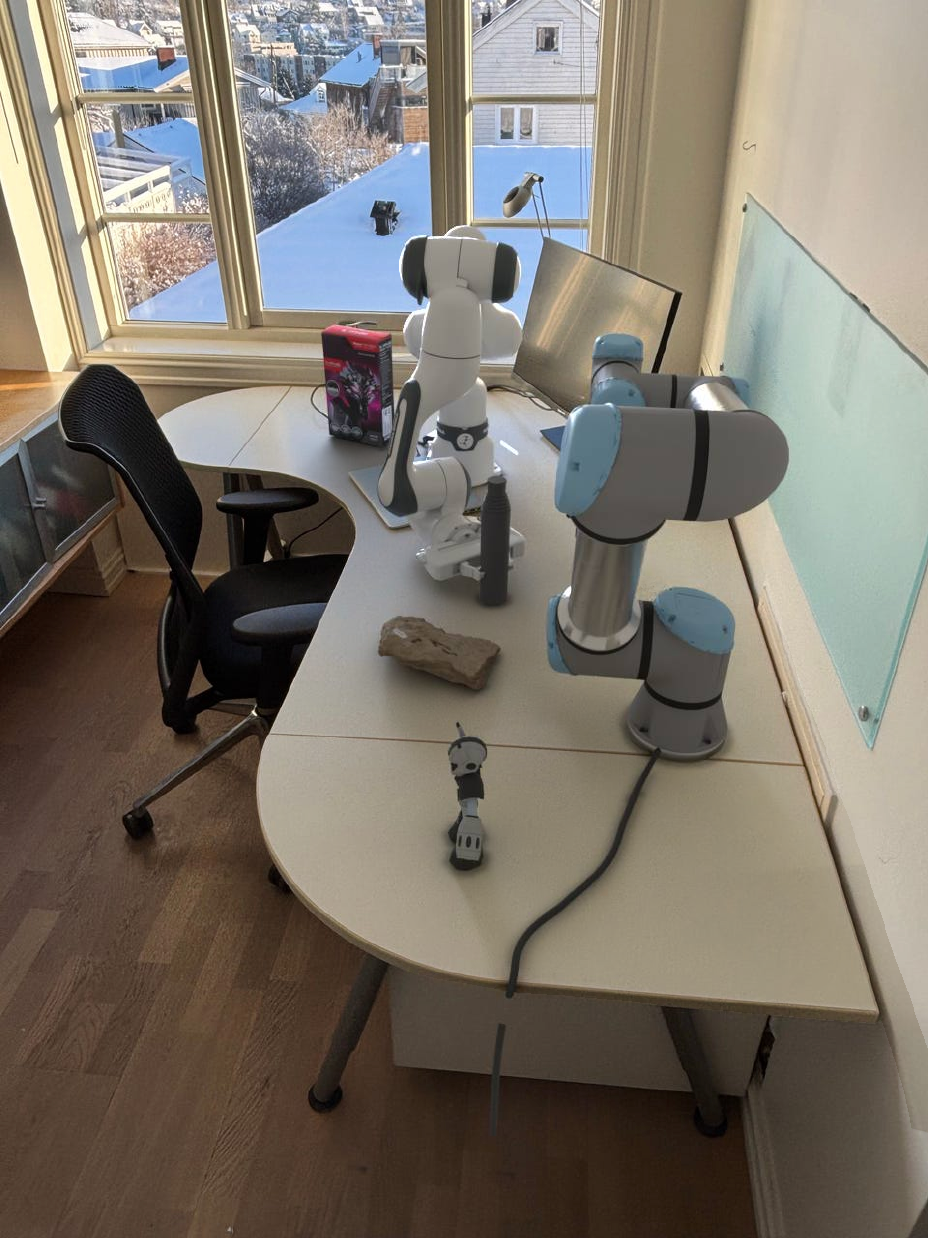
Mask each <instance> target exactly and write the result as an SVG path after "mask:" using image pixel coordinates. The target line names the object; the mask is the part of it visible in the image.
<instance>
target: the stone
mask: <svg viewBox="0 0 928 1238" xmlns="http://www.w3.org/2000/svg"><path fill="white" fill-rule="evenodd" d="M381 626H382V627H381V630H380V639H379V645H378V648H377V653H378V656H380V657H391V658H394V659H395V660H397V662H398V663H399V664H400V665H403V666H407V667H408V666H409V667H411V668H412V669H415V670H419V671H425V672H426V673H429V674H431V675H435V676H436V677H439V678H441V679H444V680H446V681H448V682H450V683H456V684H463V685H466V686H467V687H468V688H470V689H472V690H475V691H480V690H482V689H483V688H484V686H485V685H486V682H487V681H488V678H489V677H490V676H489V675H490V674H489V672H490V670H491V668H492V666H493V664H494V662H495V660H496V658H497V656H498V653H500V651H501V650H502V648H501V647H500V646H499V645H498V644H496V643H495V642H492V641H491V640H490V639H485V638H481V637H473V636H466V635H463V634H461V633H452V632H446V631H445V629H443V628H442V627H436V626H434V624H433V623H431V622H429V621H427V620H426V619H425V618H424V617H416V616H402V615H398V616H395V617H392V618H391V619H389V620H387V621H385V622H384V623H383V625H381Z"/></svg>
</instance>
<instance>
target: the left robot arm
mask: <svg viewBox="0 0 928 1238" xmlns="http://www.w3.org/2000/svg"><path fill="white" fill-rule="evenodd" d="M399 274H400V278H401V281H402V287H404V289H405V290H406V292H407V293H408V294H409V296H411V297H412V298H414V299H416V302H417V305H418V306H420V307H422V305H423V301H424V298H426V299H427V300H428V303H427V306H426V308H425V309H420V310H416V311H413V312H412V313H411V314H410V315H408V318H407V319H406V322H405V324H404V326H403V327H404V328H403V340H404V344H405V346H406V348H407V351H408V352H409V353H410V354H411V355H412V356H413V357H414V358H416V360H418V361H417V364H416V366H415V370H414V371H413V373H412V375H411V376H410V378H409V379H408V380H407V381H406V382H405V383H404V384H403V385H402V387H401V388H400V392H399V395H398V399H397V403H396V406H395V410H394V413H395V416H394V420H393V425H392V430H391V435H390V440H389V443H388V444H387V448H386V449H387V450H386V455H385V459H384V463H383V465H382V468H381V471H380V472H379V476H378V479H377V484H376V493H377V498H378V502H379V504H380V505H381V506H382V508H383V509H385V510H386V511H387V512H388V513H390V514H392V515H393V516H395V517H398V518H404V517H405V518H406V520H407V523H408V525H409V526H410V528H412V530H413V531H414V533H415V534H416V535H417V536H418V537H419V538H421V540H422V541H424V542H425V543H427V544H428V545H430V546H428V547H426V548H422V549H419V550H418V552H417V553H416V554H415V559H416V560H417V561H418V562H419V563H420V564H421V565H422V564H423V565H424V568H425V569H426V571H427V573H428V574H429V575H430V576H431V577H432V578H433V579H434V580H436V581H445V580H449V579H451V578H454V577H458V576H461V575H462V576H464V577H469V578H474V579H475V580H476V581H477V582H478V581H480V580H481V579H484V578H485V576H484V575H485V571H484V570H483V569H482V568H481V567H480V550H481V516H470V515H463V514H464V513H465V511H466V509H467V507H468V504H469V501H470V498H471V494H472V488H473V487H478V486H481V485H484V484H487V481H488V480H487V479H488V478H489V477H491V476H501V475H502V468H501V467H500V466H499V465H498V464H497V463H496V461H495V442H494V441H493V440H492V438H491V437H489V427H490V426H489V425H490V424H489V417H488V416H487V415H488V413H487V412H488V411H487V410H488V409H487V407H488V406H487V405H488V389H487V386H486V384H485V382H484V381H483V379H481V378H480V377H479V374H480V368H481V362H482V361H483V362H484V361H485V362H486V361H488V362H490V361H497V360H503V359H507V358H512V357H513V356H515V355H516V353H517V352H518V350H519V349H520V347H521V344H522V341H523V327H522V323H521V321H520V319H519V318H518V316H517V315H516V314H515V312H513V311H511V310H509V309H507V308H504V307H503V306H502V305H501V304H504V303H507V302H509V301H510V300H511V299H512V298H513V297H514V294H515V292H516V291H517V289H518V287H519V284H520V283H521V277H522V267H521V262H520V258H519V253H518V252H517V250H516V249H515V248H514V246H511V245H510V244H507V243H504V242H501V241H498V242H497V243H496V242H492V241H489V240H488V238H487V237H486V235H485V233H483V231H481V230H480V229H478V228H476V227H474V226H471V225H458V226H455V227H454V228H451V229H450V230H449V231H448V232H446V234H444V236H429V235H428V234H427V235H426V234H425V235H417V236H412V237H410V238H409V239H408V240H407V242H405V245H404V248H403V250H402V252H401V255H400V258H399ZM437 412H438V416H437V418H436V423H435V428H436V429H434V430H432V431H431V432H429V433H427V434H426V435H424V436H423V437H422V440H419V439H420V434H421V430H422V429H423V426H424V424H425V422H427V420H428V419H429V418H430V417H431V416H433V415H434V414H435V413H437ZM499 444H500V445H501V446H503V447H504V448H507V450H508V451H510V452H512V453H513V454H515V455H516V456H519V452H518V451H517V450H516V449H514V448H513V447H512V446H510V445H509V444H508V443H506V442H504V441H503V440H500V441H499ZM418 445H421V446H425V445H426V446H427V451H428V453H427V456H426V458H427V457H429V460H427V459H425V460H418V461H415V457H416V452H417V449H418ZM525 552H526V538H525V536H524V535H522V534H521V533H520V532H519V531H517V530H516V529H514V528H513V527H511V526H510V542H509V567H508V572H510V571H513V570H515V568H516V562H515V559H516V558H520V557H523V556H524V555H525Z"/></svg>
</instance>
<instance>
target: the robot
mask: <svg viewBox="0 0 928 1238" xmlns="http://www.w3.org/2000/svg"><path fill="white" fill-rule="evenodd" d="M455 726H456V730H457V733H458V735H459V737H458V738H456V739H455V740H453V742H452V743H450V745H449V747H448V748H447V756H448V757H447V758H448V761H449V762H450V773H451V775H452V776H453V777H454V778H453V779H454V781H455V783H456V785H457V787H458V788H456V795H457V796H456V797H457V803H458V804H459V806H460V811H459V813H458V816H457V818H456V820H455V821H454V823H453V824H452V826H451V827H450V828H449V830H448V832H447V834H448V837H449V839H450V842H452V843H454V844H455V845H454V847H453V849H452V852H451V854H450V858H449V863H450V864H451V865H452V866H453V867H454V868H455V869H457V870H460V871H470V870H472V869H474V868H477V867H479V866H481V865H482V861H483V858H484V852H483V850H484V849H483V848H484V847H483V840H484V826H483V822H482V819H481V818H480V816H478V808H479V807H478V806H479V801H478V799H480V800H485V785H484V781H483V778H482V773H481V769H482V768H483V765H482V764H483V763H484V762H485V761H486V759H487V758H488V746H487V745H486V742H484V741H483V740H482V739H481V738H480V737H478V736H475V735H472V734H466V733H465V730H464V729H463V727H462V725H461V723H460V722H459V721H457V722H456V723H455Z"/></svg>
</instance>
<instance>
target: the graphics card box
mask: <svg viewBox="0 0 928 1238" xmlns="http://www.w3.org/2000/svg"><path fill="white" fill-rule="evenodd" d="M320 336H321V347H322V358H323V360H322V361H323V371H324V373H323V374H324V384H325V385H324V386H325V396H326V399H325V400H326V411H327V423H328V435H329V436H332V437H335V438H341V439H346V440H350V441H354V442H359V443H364V444H366V445H367V444H368V445H372V446H376V447H377V446H378V447H381V448H382V447H385V446H386V445H388V444H389V440H390V435H391V430H392V425H393V420H394V416H395V394H394V393H395V391H394V390H395V389H394V370H393V368H394V367H393V365H394V364H393V341H392V340H393V335H392V333H389V332H388V333H385V332H381V331H376V330H375V331H374V330H368V329H364V328H357V327H351V326H347V325H342V324H341V325H340V324H332V325H329V326H328V327H326V328H325V329H323V330H322V331H321V332H320Z"/></svg>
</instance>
